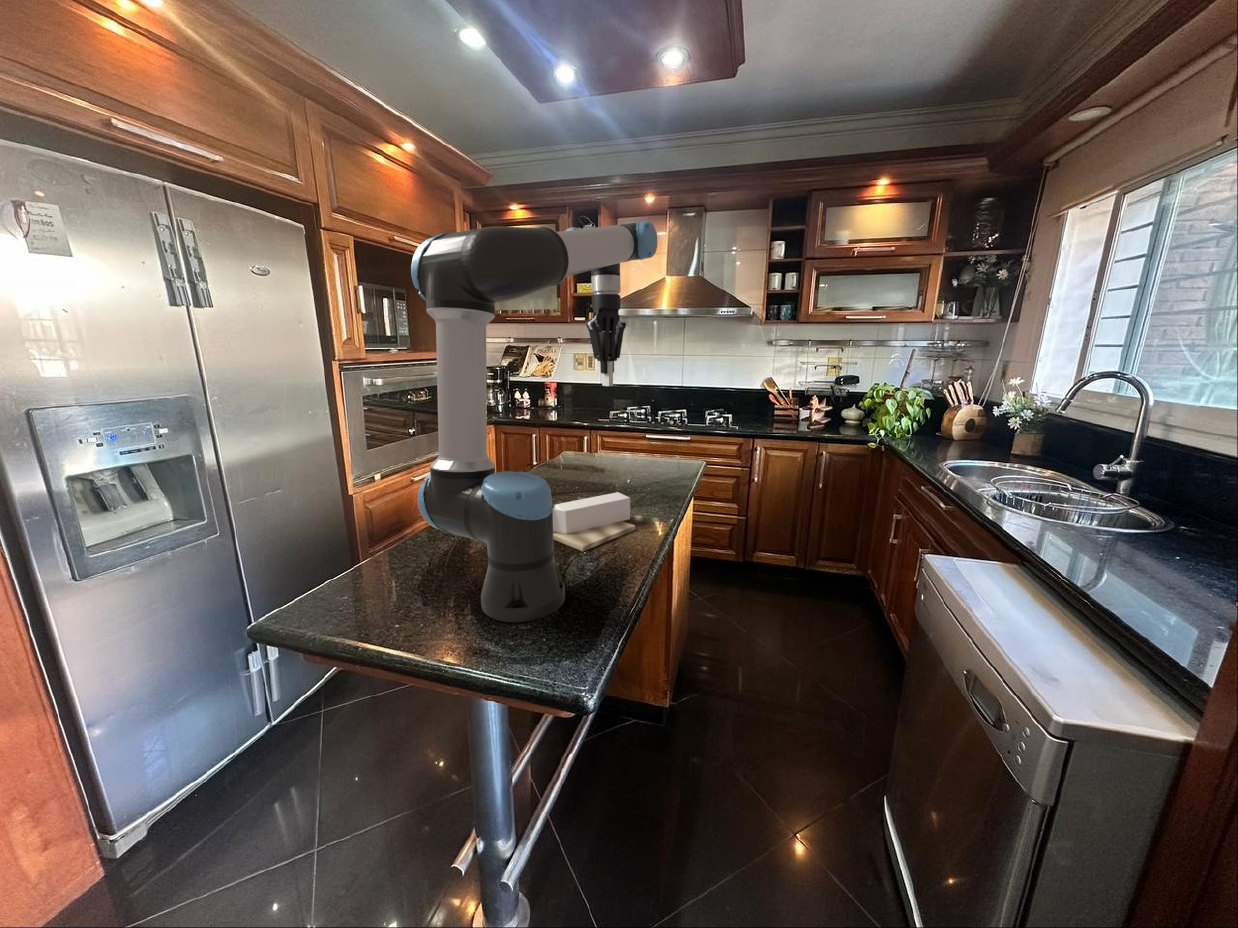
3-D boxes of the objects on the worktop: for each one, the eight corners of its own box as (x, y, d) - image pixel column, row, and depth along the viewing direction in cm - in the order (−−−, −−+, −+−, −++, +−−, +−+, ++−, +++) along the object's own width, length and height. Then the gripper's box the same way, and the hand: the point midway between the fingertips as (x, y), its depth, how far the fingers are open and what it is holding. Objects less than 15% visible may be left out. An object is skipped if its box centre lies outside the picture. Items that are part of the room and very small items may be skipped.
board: (582, 551, 109) (582, 546, 109) (549, 537, 117) (549, 533, 117) (635, 529, 122) (635, 525, 122) (601, 518, 130) (601, 514, 130)
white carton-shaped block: (618, 512, 131) (543, 529, 119) (618, 491, 129) (542, 506, 118) (630, 519, 126) (554, 537, 114) (630, 497, 124) (553, 513, 113)
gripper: (613, 296, 131) (614, 383, 137) (577, 293, 122) (580, 386, 128) (633, 294, 126) (633, 384, 132) (597, 291, 117) (599, 388, 123)
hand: (607, 385), depth 130 cm, fingers closed
